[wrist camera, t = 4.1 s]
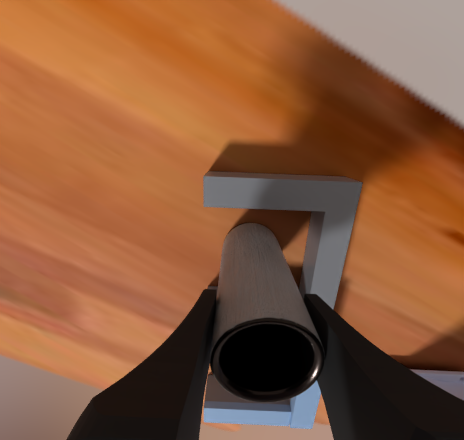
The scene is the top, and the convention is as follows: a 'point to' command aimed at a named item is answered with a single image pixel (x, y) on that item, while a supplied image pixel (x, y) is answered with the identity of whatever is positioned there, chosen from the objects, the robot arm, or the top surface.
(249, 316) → the grey cylinder
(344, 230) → the grey flat angled piece
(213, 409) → the blue u-shaped bracket
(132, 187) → the top surface
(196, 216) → the top surface
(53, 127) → the top surface
